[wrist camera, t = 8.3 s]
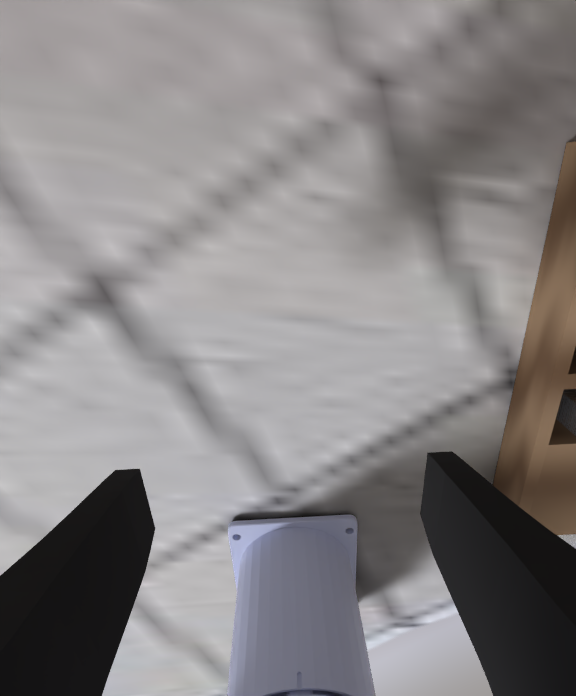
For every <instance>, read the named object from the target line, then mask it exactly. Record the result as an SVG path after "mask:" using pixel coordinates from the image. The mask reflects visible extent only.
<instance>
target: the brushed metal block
mask: <svg viewBox="0 0 576 696" xmlns="http://www.w3.org/2000/svg"><path fill="white" fill-rule="evenodd" d="M575 348H576V347H575ZM556 419H557V420H558V421H559V422H560V423H561V424H562V425H564V426H565V427H566V428H567V429H568V430H569V431H571V432H572V433H573V434H574V435H575V436H576V389H564V391H563V394H562V398H561V401H560V405H559V409H558V412H557V416H556Z"/></svg>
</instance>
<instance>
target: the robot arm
mask: <svg viewBox="0 0 576 696" xmlns="http://www.w3.org/2000/svg"><path fill="white" fill-rule="evenodd" d="M420 514H421V518H422V521H423V524H424V528H425V531H426V534H427V537H428V541H429V544H430V547H431V550H432V553H433V556H434V558H435V560H436V563H437V565H438V567H439V570H440V572H441V574H442V576H443V579H444V581H445V583H446V585H447V588H448V590H449V592H450V594H451V597H452V599H453V601H454V603H455V606H456V608H457V610H458V612H459V615H460V617H461V619H462V621H463V623H464V626H465V628H466V630H467V633H468V635H469V637H470V639H471V641H472V644H473V646H474V648H475V651H476V653H477V655H478V657H479V660H480V662H481V665H482V667H483V670H484V672H485V675H486V677H487V680H488V682H489V685H490V688H491V691H492V693H493V696H576V549H575V548H574V547H572V546H571V545H569V544H568V543H567V542H565V541H564V540H562V539H561V538H560V537H558V536H557V535H556V534H554V533H553V532H551V531H550V530H549V529H547V528H546V527H545V526H544V525H542V524H541V523H540V522H538V521H537V520H536V519H534V518H533V517H532V516H530V515H529V514H528V513H527V512H525V511H524V510H523V509H522V508H520V507H519V506H518V505H517V504H515V503H514V502H513V501H512V500H510V499H509V498H508V497H507V496H505V495H504V494H503V493H502V492H500V491H499V490H498V489H497V488H496V487H494V486H493V485H492V484H491V483H490V482H488V481H487V480H486V479H485V478H484V477H482V476H481V475H480V474H479V473H478V472H476V471H475V470H474V469H473V468H472V467H470V466H469V465H468V464H467V463H466V462H464V461H463V460H462V459H461V458H460V457H458V456H457V455H456V454H455V453H453V452H435V453H428V455H427V463H426V471H425V479H424V488H423V496H422V504H421V512H420ZM357 526H358V524H357V519H356V517H355V516H353V515H332V516H314V517H296V518H278V519H260V520H242V521H233V522H231V523H230V524H229V526H228V536H229V543H230V549H231V556H232V562H233V569H234V575H235V582H236V588H237V598H236V608H235V618H234V629H233V639H232V650H231V660H230V670H229V681H228V691H227V696H376V695H375V690H374V685H373V679H372V674H371V669H370V664H369V658H368V653H367V648H366V642H365V637H364V632H363V627H362V621H361V616H360V611H359V605H358V600H357V595H356V590H355V585H356V555H357ZM347 528H350V529H347ZM154 531H155V526H154V522H153V518H152V515H151V511H150V507H149V503H148V499H147V495H146V491H145V487H144V484H143V480H142V476H141V472H140V469H128V470H115V471H114V472H113V473H112V474H111V475H110V476H108V477H107V478H106V479H105V480H104V481H103V482H102V483H101V484H100V485H99V486H98V487H97V488H96V489H95V490H94V491H93V492H92V493H91V494H89V495H88V496H87V497H86V498H85V499H84V500H83V501H82V502H81V503H80V504H79V505H78V506H77V507H76V508H75V509H74V510H73V511H72V512H71V513H70V514H69V515H68V516H66V517H65V518H64V519H63V520H62V521H61V522H60V523H59V524H58V525H57V526H56V527H55V528H54V529H53V530H52V531H50V532H49V533H48V534H47V535H46V536H45V537H44V538H43V539H42V540H41V541H40V542H39V543H37V544H36V545H35V546H34V547H33V548H32V549H31V550H29V551H28V552H27V553H26V554H25V555H24V556H23V557H21V558H20V559H19V560H18V561H17V562H16V563H15V564H13V565H12V566H11V567H10V568H9V569H8V570H7V571H5V572H4V573H3V574H2V575H1V576H0V696H102V693H103V690H104V687H105V684H106V681H107V678H108V675H109V672H110V669H111V667H112V664H113V661H114V658H115V655H116V653H117V650H118V647H119V644H120V641H121V639H122V636H123V633H124V630H125V627H126V625H127V622H128V619H129V616H130V614H131V611H132V608H133V605H134V602H135V599H136V597H137V594H138V591H139V588H140V585H141V582H142V579H143V576H144V573H145V570H146V566H147V562H148V558H149V554H150V550H151V545H152V541H153V536H154ZM235 534H238V535H235Z"/></svg>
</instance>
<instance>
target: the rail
mask: <svg viewBox="0 0 576 696" xmlns="http://www.w3.org/2000/svg"><path fill="white" fill-rule="evenodd" d="M575 347H576V142H567V143H566V148H565V152H564V157H563V162H562V166H561V171H560V176H559V180H558V185H557V190H556V194H555V199H554V203H553V208H552V213H551V217H550V222H549V227H548V231H547V236H546V241H545V245H544V250H543V254H542V259H541V264H540V268H539V273H538V278H537V282H536V287H535V292H534V296H533V301H532V305H531V310H530V315H529V319H528V324H527V329H526V333H525V338H524V343H523V347H522V352H521V356H520V361H519V366H518V370H517V375H516V380H515V384H514V389H513V394H512V398H511V403H510V407H509V412H508V417H507V421H506V426H505V431H504V435H503V440H502V445H501V449H500V454H499V458H498V463H497V468H496V472H495V477H494V482H493V486H494V487H496V488H497V489H498V490H499V491H500V492H502V493H503V494H504V495H505V496H507V497H508V498H509V499H510V500H512V501H513V502H514V503H515V504H517V505H518V506H519V507H520V508H522V509H523V510H524V511H525V512H527V513H528V514H529V515H530V516H532V517H533V518H534V519H536V520H537V521H538V522H540V523H541V524H542V525H544V526H545V527H546V528H547V529H549V530H550V531H551V532H553V533H554V534H556V535H567V534H576V436H575V435H574V434H573V433H572V432H571V431H569V430H568V429H567V428H566V427H565V426H564V425H562V424H561V423H560V422H559V421H558V420H557V419H556V416H557V412H558V409H559V405H560V401H561V398H562V394H563V391H564V389H576V349H575Z"/></svg>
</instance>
